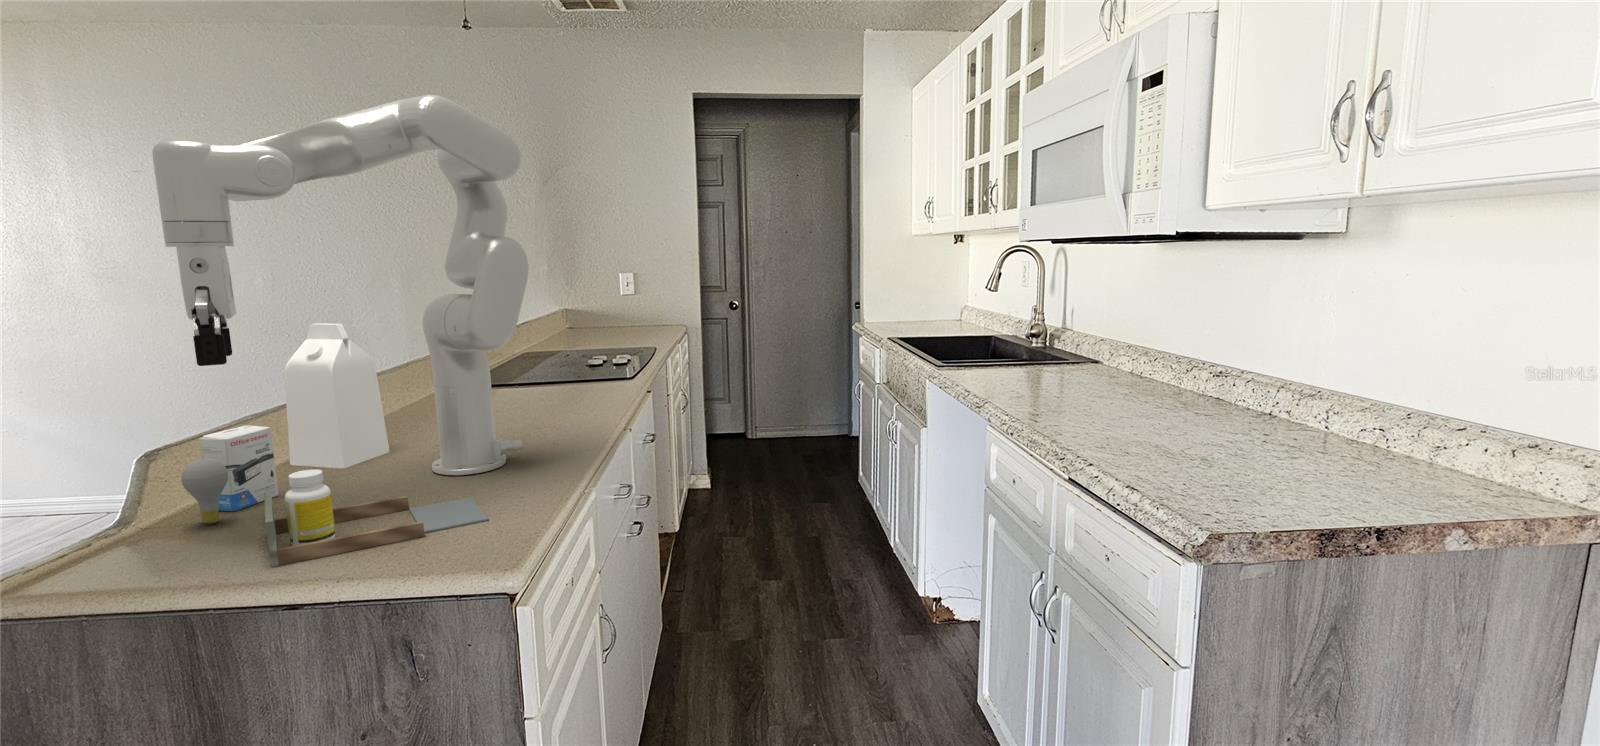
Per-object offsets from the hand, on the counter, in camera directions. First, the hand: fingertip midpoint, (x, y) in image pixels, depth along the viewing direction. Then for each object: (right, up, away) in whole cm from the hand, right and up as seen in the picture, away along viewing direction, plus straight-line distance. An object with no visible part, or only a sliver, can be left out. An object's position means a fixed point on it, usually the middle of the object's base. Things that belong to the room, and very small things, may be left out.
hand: (215, 360), depth 110 cm
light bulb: (-6, -24, +7) cm, 26 cm away
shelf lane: (+17, -25, +2) cm, 30 cm away
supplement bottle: (+14, -25, 0) cm, 29 cm away
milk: (-7, -18, +42) cm, 46 cm away
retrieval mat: (+28, -23, +9) cm, 38 cm away
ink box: (-7, -23, +16) cm, 29 cm away
